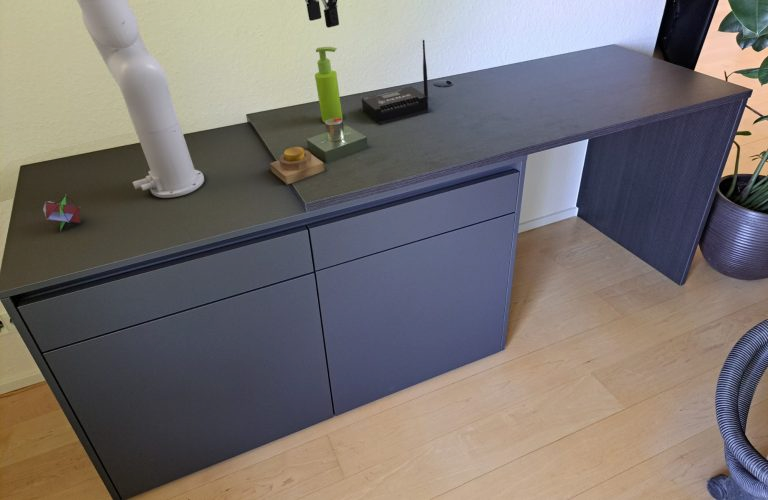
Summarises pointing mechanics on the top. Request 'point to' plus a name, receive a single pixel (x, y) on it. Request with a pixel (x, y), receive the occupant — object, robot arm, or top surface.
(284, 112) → the top surface
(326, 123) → the dial
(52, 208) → the geometric puzzle
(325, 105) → the soap dispenser
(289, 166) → the button housing
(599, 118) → the top surface
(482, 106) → the top surface
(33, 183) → the top surface
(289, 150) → the round yellow button
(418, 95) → the wireless controller
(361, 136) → the dial panel
